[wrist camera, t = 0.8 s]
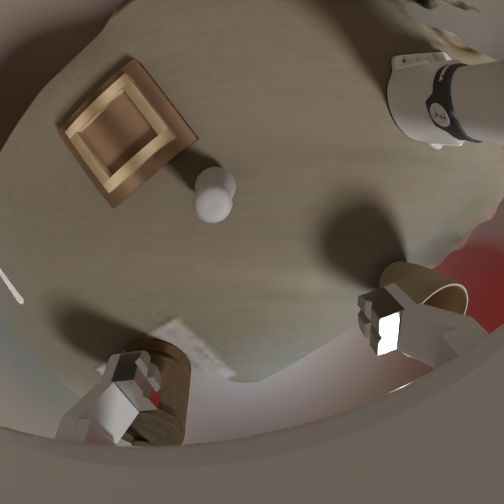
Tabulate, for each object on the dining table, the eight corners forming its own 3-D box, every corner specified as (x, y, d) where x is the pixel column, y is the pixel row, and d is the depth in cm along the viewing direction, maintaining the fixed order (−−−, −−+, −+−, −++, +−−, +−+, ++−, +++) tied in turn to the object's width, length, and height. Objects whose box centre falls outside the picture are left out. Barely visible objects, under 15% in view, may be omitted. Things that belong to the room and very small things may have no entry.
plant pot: (391, 230, 46) (445, 269, 32) (431, 262, 50) (477, 300, 36) (347, 294, 51) (384, 349, 36) (392, 316, 55) (427, 363, 40)
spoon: (19, 306, 46) (18, 308, 45) (-21, 246, 38) (-22, 246, 38) (28, 298, 45) (27, 299, 44) (-14, 234, 38) (-15, 235, 37)
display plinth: (140, 62, 31) (130, 54, 26) (199, 138, 37) (195, 139, 33) (66, 131, 33) (50, 132, 29) (119, 203, 40) (108, 212, 35)
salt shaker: (188, 179, 39) (173, 199, 28) (220, 157, 39) (218, 166, 27) (211, 210, 42) (206, 241, 30) (242, 188, 41) (250, 212, 29)
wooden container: (113, 357, 52) (86, 438, 32) (151, 326, 50) (126, 421, 30) (163, 391, 58) (153, 470, 38) (205, 366, 55) (203, 456, 35)
